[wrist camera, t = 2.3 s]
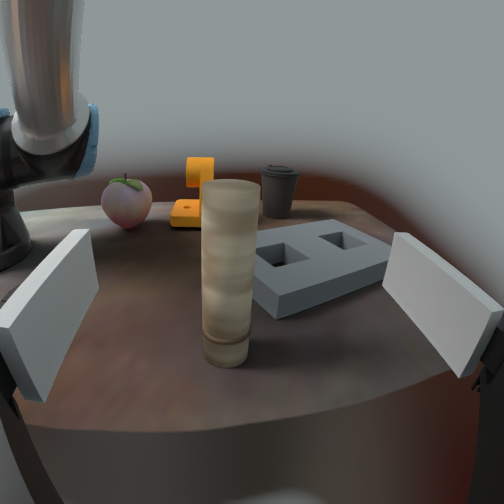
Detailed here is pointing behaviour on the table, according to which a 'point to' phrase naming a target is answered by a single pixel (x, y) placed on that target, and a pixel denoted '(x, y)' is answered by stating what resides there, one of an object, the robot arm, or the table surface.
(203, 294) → the maple leg
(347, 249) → the stool seat
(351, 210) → the table surface
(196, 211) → the bracket
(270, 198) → the coffee cup
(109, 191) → the decorative fruit
